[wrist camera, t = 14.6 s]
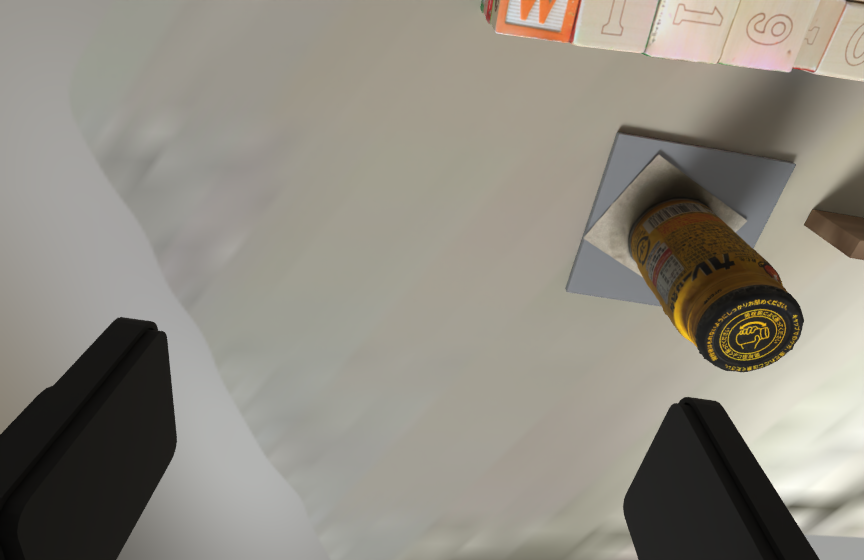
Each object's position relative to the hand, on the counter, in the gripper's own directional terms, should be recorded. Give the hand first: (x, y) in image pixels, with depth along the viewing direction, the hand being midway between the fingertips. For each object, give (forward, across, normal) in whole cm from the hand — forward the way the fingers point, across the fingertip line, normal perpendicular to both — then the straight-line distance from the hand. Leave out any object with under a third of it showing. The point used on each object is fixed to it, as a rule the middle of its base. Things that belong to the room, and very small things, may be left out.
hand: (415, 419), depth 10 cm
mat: (+28, -18, +6) cm, 34 cm away
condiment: (+28, -17, +6) cm, 33 cm away
